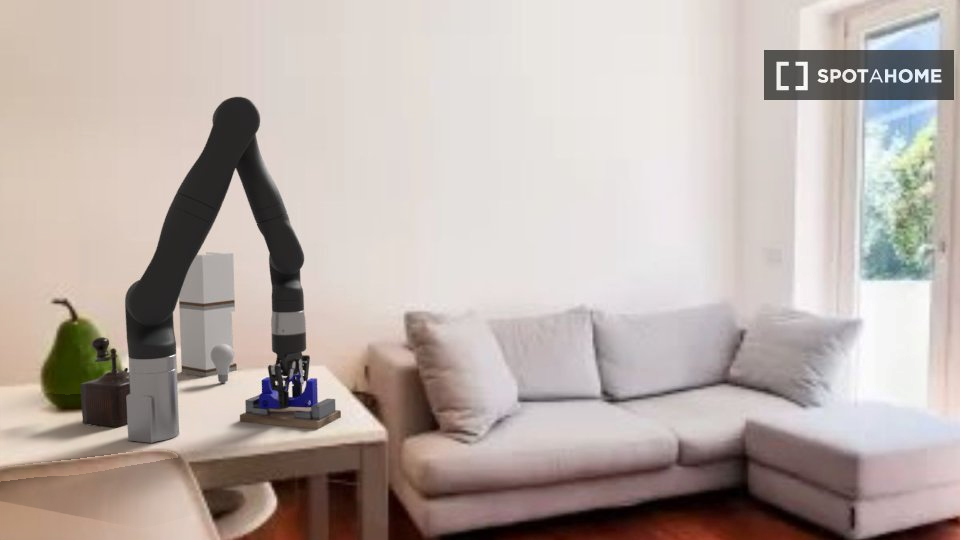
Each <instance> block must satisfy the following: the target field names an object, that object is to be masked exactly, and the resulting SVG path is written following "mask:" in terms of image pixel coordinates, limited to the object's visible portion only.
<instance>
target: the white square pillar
mask: <svg viewBox="0 0 960 540" xmlns="http://www.w3.org/2000/svg"><path fill="white" fill-rule="evenodd" d="M234 273H235V271H234V253H233V252H212V251H211V252H208V251H207V252H205V254H197V255H196V257H195V259H194V260H193V262H192V264H191V266H190V268H189V270H188V272H187V275H186V278H185V280H184V283H183V286H182V289H181V292H180V295H179V298H178V305H179V307H178V308H179V332H180V333H179V334H180V360H181V361H180V362H181V373H182V374H187V375H188V374H189V375H193V376H199V377H204V378H209V377H213V376H218V374H217V370H216V367H215V365H214V363H213V361H212V360H211V351H212V349H213V348H214V347H215V346H216V345H218V344H227V345H229V346H230V347H231V348H232V349H233V350H234V347H233V346H234V344H233V341H234V340H233V316H232V315H233V314H232V313H233V312H235V311H236V307H235V306H236V305H235V274H234ZM237 366H238V365H237V363H235V362H234V359H233V360H232V362H231V364H230V367H229V373H231V372H235V371H237V370H238V369H237Z"/></svg>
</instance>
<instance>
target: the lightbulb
mask: <svg viewBox="0 0 960 540" xmlns="http://www.w3.org/2000/svg"><path fill="white" fill-rule="evenodd" d="M234 357H235V351H234V348H233V349H232V348H231V347H230V346H229V345H227V344H218V345H216V346H215V347H214V348H213V349H212V351H211V360H212V361H213V363H214V365H215V367H216V370H217V374H218V375H217V379H218V382H219V383H221V384H226V382H228V381H229V374H230V372H229V367H230V364H231V362H232V360H233V361H234Z"/></svg>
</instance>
